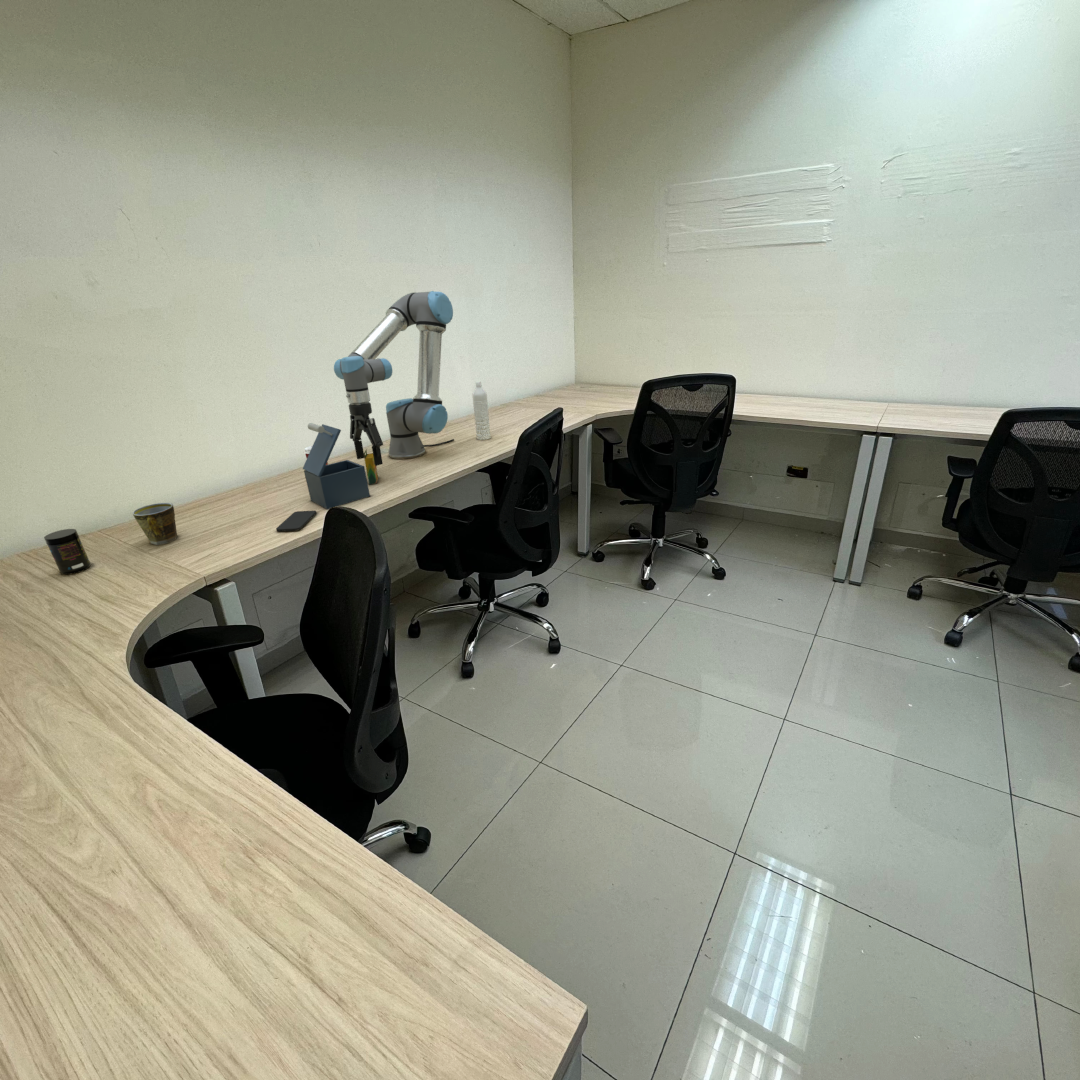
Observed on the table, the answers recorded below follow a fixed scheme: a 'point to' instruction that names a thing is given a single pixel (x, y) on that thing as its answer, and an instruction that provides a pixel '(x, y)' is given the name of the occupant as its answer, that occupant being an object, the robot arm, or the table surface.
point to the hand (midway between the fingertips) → (369, 461)
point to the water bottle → (481, 413)
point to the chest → (338, 484)
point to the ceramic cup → (157, 522)
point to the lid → (321, 448)
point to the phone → (296, 521)
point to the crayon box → (371, 468)
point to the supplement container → (67, 551)
